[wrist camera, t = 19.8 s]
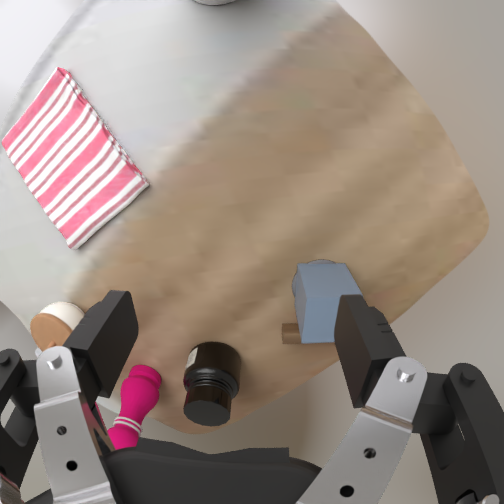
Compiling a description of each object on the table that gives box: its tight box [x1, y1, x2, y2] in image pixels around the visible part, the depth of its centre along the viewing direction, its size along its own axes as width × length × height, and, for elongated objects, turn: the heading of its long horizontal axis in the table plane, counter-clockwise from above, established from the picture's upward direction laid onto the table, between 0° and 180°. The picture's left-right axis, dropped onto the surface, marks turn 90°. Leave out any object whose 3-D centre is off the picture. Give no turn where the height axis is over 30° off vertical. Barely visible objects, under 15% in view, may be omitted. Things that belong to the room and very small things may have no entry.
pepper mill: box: [107, 365, 161, 450], centre depth 42 cm, size 7×7×20 cm
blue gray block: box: [295, 263, 363, 343], centre depth 39 cm, size 7×7×9 cm
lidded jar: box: [30, 302, 85, 352], centre depth 42 cm, size 11×11×9 cm
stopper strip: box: [282, 324, 329, 344], centre depth 45 cm, size 2×10×2 cm, turn 90°
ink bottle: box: [183, 342, 241, 426], centre depth 44 cm, size 10×9×12 cm
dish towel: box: [2, 67, 149, 250], centre depth 34 cm, size 17×23×4 cm
